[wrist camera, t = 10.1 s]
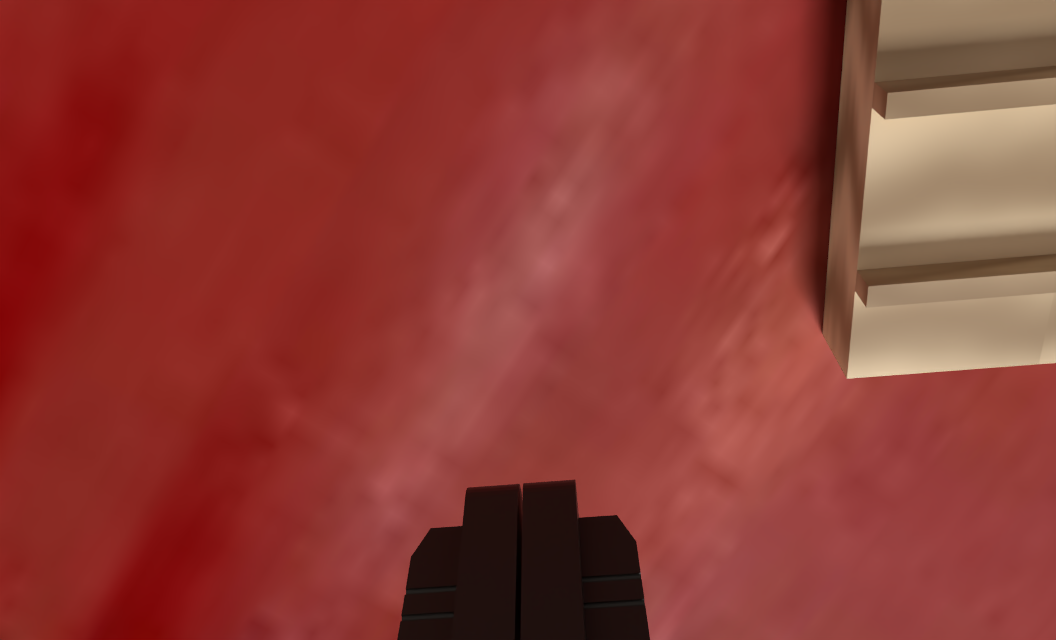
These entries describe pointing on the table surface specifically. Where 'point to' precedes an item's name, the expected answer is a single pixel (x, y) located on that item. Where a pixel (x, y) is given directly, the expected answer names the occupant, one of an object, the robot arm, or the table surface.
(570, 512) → the robot arm
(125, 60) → the table surface
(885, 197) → the wooden stepped tray
